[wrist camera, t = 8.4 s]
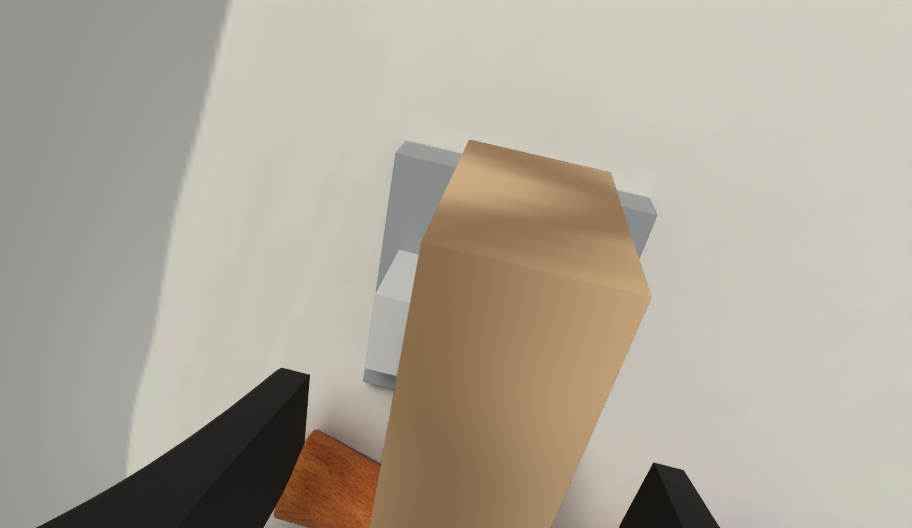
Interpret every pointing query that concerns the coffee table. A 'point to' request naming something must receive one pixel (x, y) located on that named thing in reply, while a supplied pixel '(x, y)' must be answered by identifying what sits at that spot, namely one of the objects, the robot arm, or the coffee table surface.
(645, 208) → the balance stand
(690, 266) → the coffee table surface
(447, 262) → the oak bar
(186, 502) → the robot arm
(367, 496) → the kendama
